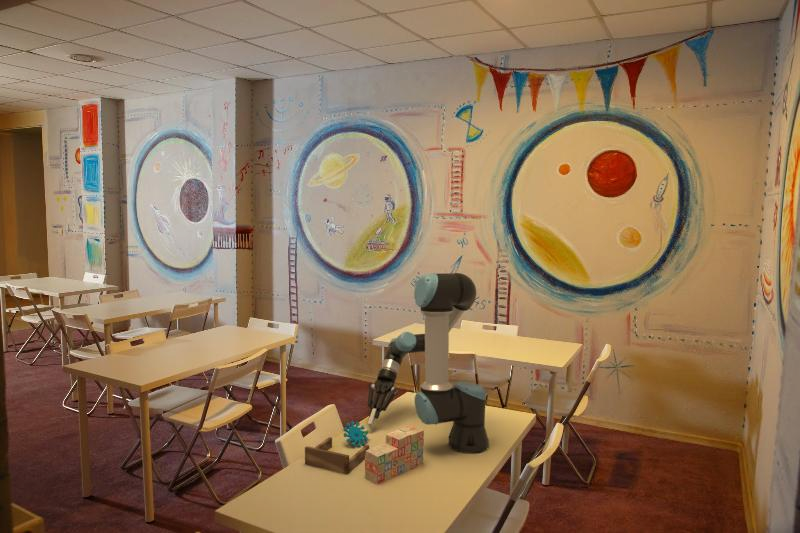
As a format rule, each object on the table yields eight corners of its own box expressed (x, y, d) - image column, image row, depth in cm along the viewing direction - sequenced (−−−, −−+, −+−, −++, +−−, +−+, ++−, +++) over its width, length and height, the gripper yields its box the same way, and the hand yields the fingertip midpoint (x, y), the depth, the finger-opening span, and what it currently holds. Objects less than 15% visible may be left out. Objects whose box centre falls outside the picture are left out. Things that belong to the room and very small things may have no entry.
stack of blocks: (377, 485, 170) (377, 447, 169) (364, 477, 174) (364, 441, 173) (423, 464, 185) (424, 429, 184) (410, 458, 189) (411, 424, 188)
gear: (348, 446, 193) (341, 421, 199) (341, 453, 197) (335, 428, 202) (374, 443, 200) (366, 419, 205) (367, 450, 203) (359, 426, 209)
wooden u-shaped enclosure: (329, 446, 197) (329, 430, 197) (369, 454, 191) (369, 438, 190) (304, 464, 182) (304, 447, 182) (347, 474, 176) (347, 456, 175)
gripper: (405, 379, 224) (388, 432, 210) (377, 375, 229) (358, 426, 215) (400, 370, 218) (382, 423, 205) (371, 366, 223) (352, 418, 210)
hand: (370, 425), depth 210 cm, fingers closed
